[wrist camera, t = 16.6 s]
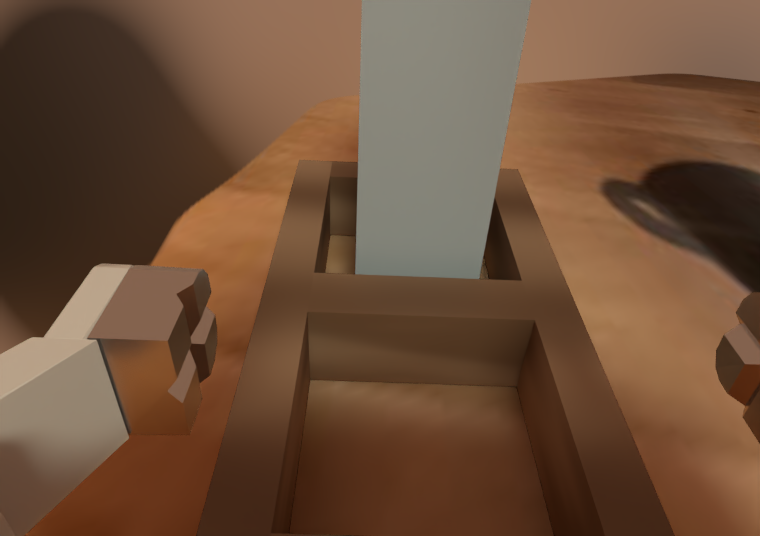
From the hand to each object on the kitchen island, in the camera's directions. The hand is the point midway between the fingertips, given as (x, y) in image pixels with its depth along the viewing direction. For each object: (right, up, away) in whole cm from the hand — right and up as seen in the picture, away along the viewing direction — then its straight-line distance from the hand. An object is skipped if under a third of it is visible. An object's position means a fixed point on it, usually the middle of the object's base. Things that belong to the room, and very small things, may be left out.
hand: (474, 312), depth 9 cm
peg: (0, 0, +15) cm, 15 cm away
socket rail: (0, -3, +11) cm, 12 cm away
